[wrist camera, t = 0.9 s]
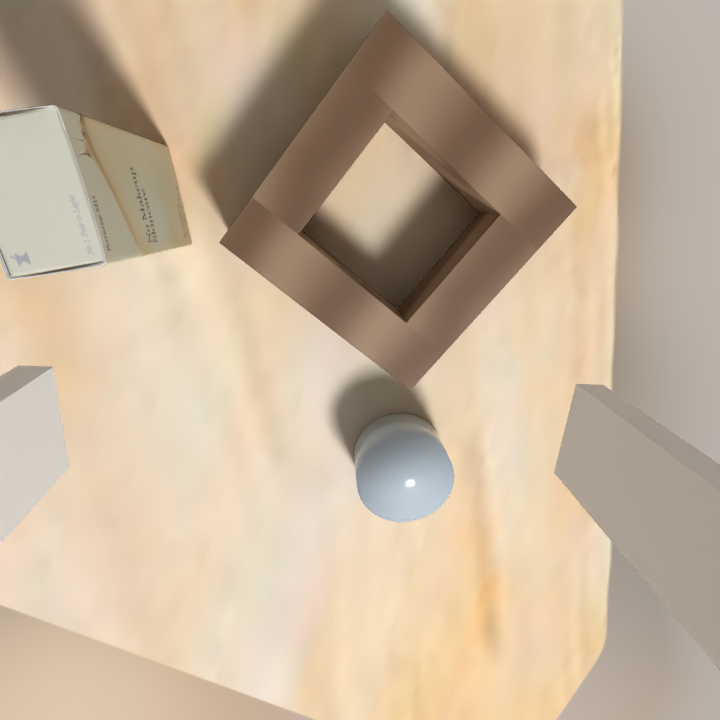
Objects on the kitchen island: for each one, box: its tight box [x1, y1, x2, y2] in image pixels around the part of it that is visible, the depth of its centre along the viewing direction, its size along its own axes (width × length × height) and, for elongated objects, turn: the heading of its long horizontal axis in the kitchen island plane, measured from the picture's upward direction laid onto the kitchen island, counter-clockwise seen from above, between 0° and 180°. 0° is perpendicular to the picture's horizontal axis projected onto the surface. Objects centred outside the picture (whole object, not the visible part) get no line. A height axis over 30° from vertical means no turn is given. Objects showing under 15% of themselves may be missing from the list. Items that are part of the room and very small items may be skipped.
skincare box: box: [0, 105, 192, 280], centre depth 24 cm, size 6×4×12 cm
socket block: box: [219, 10, 577, 390], centre depth 29 cm, size 15×15×4 cm
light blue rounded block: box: [354, 413, 454, 522], centre depth 35 cm, size 7×7×4 cm
